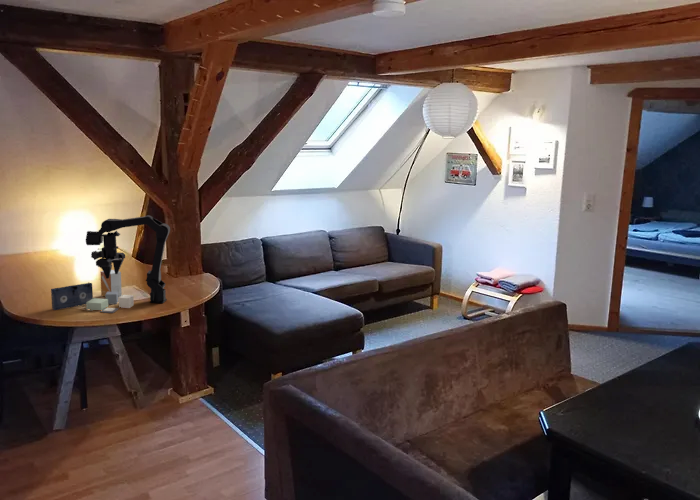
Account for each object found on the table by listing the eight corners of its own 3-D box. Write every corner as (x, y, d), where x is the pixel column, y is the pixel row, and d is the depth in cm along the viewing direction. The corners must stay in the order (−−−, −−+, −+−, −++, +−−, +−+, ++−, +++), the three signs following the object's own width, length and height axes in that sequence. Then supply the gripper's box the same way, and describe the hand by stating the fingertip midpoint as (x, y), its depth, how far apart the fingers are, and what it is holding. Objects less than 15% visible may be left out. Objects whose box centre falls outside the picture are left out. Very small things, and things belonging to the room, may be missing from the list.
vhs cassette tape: (91, 301, 270) (90, 282, 268) (93, 303, 268) (92, 283, 267) (51, 309, 257) (50, 288, 255) (54, 310, 255) (52, 289, 253)
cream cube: (133, 305, 269) (133, 295, 268) (129, 308, 264) (129, 298, 263) (123, 304, 269) (123, 294, 268) (119, 307, 264) (118, 297, 263)
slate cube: (118, 301, 274) (118, 291, 273) (116, 304, 269) (116, 294, 268) (107, 301, 273) (107, 291, 272) (105, 304, 268) (105, 294, 267)
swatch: (118, 309, 261) (118, 307, 261) (112, 313, 255) (112, 311, 255) (105, 308, 261) (105, 307, 261) (100, 312, 255) (100, 310, 255)
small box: (101, 296, 280) (100, 271, 278) (111, 293, 286) (110, 269, 283) (111, 298, 276) (110, 273, 274) (122, 296, 282) (121, 271, 279)
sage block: (108, 307, 264) (108, 299, 264) (101, 311, 258) (101, 303, 257) (94, 306, 265) (93, 298, 264) (86, 310, 258) (86, 302, 257)
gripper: (103, 241, 276) (105, 271, 279) (83, 248, 258) (86, 280, 261) (124, 241, 276) (126, 271, 279) (107, 249, 257) (109, 281, 260)
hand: (112, 276), depth 270 cm, fingers open, 9 cm apart
